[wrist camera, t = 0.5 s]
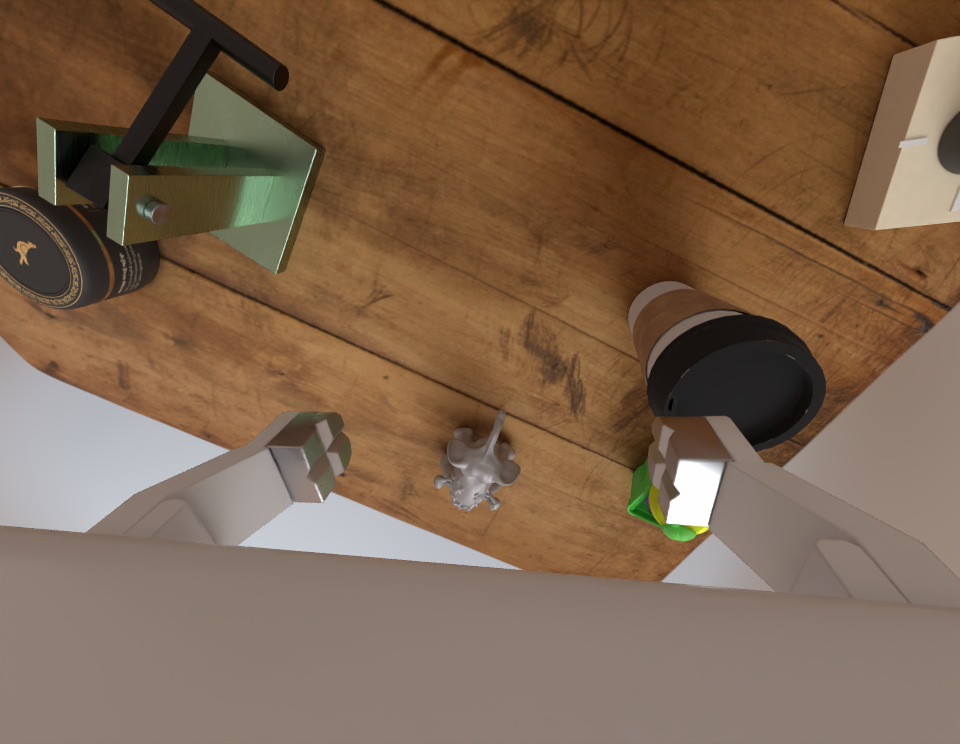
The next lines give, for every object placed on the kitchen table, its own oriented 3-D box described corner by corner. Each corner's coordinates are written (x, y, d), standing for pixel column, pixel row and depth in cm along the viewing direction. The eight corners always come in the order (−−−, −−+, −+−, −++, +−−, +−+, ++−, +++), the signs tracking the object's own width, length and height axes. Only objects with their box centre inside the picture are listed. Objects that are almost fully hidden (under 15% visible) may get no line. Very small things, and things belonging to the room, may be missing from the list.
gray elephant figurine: (443, 471, 45) (426, 522, 38) (439, 386, 40) (418, 429, 33) (519, 479, 44) (515, 534, 37) (526, 393, 38) (522, 439, 32)
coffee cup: (618, 266, 31) (673, 332, 18) (727, 264, 30) (871, 332, 17) (608, 356, 35) (647, 463, 22) (704, 357, 34) (806, 472, 21)
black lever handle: (162, -12, 23) (130, -54, 20) (295, 82, 24) (279, 53, 21) (48, 168, 23) (2, 148, 20) (186, 253, 24) (158, 243, 22)
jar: (72, 256, 39) (-26, 273, 32) (69, 162, 34) (-47, 158, 28) (162, 306, 40) (86, 332, 33) (171, 222, 35) (85, 232, 29)
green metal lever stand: (212, 72, 29) (-22, -3, 17) (325, 150, 30) (183, 133, 18) (188, 210, 35) (-1, 228, 23) (284, 271, 36) (155, 319, 24)
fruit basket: (674, 503, 42) (714, 602, 32) (605, 472, 42) (625, 564, 32) (748, 432, 37) (823, 527, 27) (669, 396, 36) (717, 479, 26)
